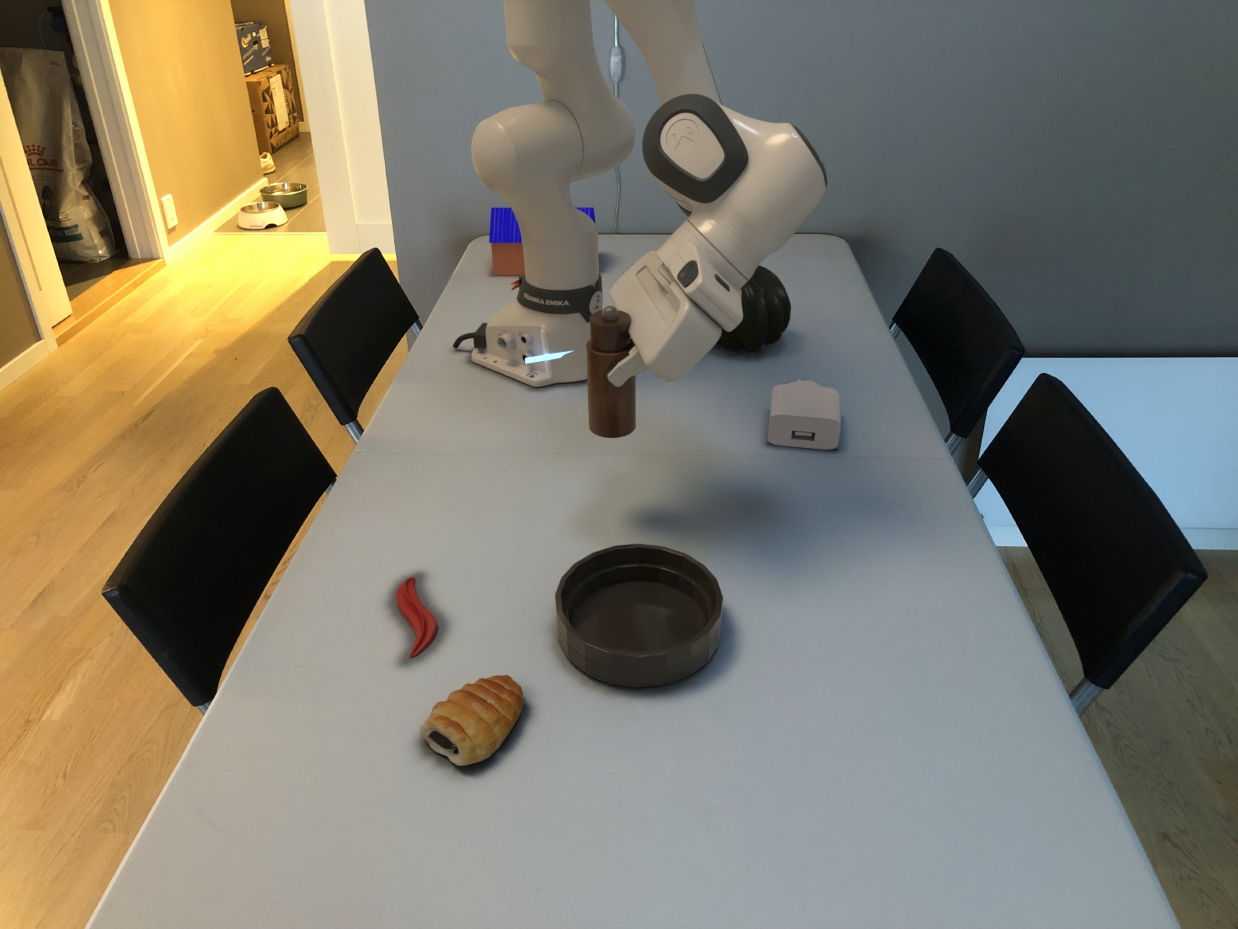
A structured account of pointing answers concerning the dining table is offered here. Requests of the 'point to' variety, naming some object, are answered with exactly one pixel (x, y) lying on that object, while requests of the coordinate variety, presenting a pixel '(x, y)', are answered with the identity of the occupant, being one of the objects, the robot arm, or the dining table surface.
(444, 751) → the pastry
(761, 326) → the squash
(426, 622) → the cayenne pepper
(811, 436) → the charger
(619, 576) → the pan
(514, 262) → the house
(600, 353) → the pepper mill
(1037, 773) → the dining table surface
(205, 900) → the dining table surface
